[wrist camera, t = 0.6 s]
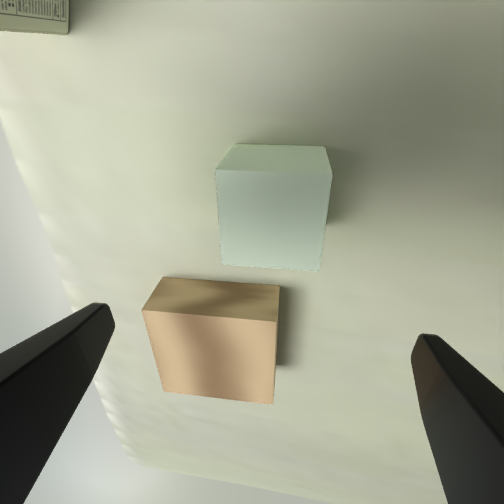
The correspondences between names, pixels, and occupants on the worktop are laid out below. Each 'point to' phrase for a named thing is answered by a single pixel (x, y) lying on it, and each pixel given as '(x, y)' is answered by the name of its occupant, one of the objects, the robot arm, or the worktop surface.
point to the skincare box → (35, 16)
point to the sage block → (273, 205)
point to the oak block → (214, 338)
